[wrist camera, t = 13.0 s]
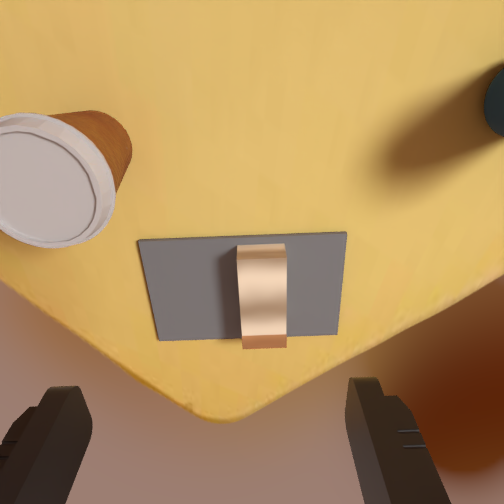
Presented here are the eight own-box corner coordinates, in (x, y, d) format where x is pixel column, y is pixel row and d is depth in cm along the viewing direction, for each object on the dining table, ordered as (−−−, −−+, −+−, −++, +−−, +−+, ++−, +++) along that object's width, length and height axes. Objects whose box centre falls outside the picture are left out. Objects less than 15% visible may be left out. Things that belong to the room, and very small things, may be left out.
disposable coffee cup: (108, 70, 32) (41, 87, 22) (169, 167, 37) (137, 221, 26) (22, 122, 34) (-76, 160, 24) (90, 208, 39) (31, 273, 28)
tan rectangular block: (237, 245, 40) (236, 259, 38) (284, 243, 40) (287, 257, 38) (242, 331, 46) (242, 349, 44) (284, 329, 46) (286, 347, 43)
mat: (160, 338, 47) (159, 341, 47) (139, 239, 40) (138, 241, 40) (336, 332, 47) (337, 334, 47) (346, 231, 40) (347, 233, 40)
